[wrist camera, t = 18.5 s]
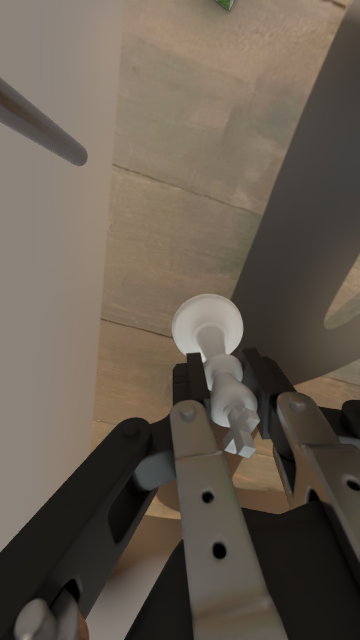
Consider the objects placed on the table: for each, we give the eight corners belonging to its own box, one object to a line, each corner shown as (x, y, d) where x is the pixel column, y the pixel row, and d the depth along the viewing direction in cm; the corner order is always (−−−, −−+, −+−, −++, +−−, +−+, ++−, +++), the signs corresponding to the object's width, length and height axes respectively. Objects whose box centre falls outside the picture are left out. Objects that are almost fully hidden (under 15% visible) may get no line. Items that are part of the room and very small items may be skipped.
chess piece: (255, 311, 17) (355, 421, 8) (220, 367, 18) (269, 514, 9) (190, 281, 16) (216, 365, 7) (160, 343, 18) (146, 479, 8)
